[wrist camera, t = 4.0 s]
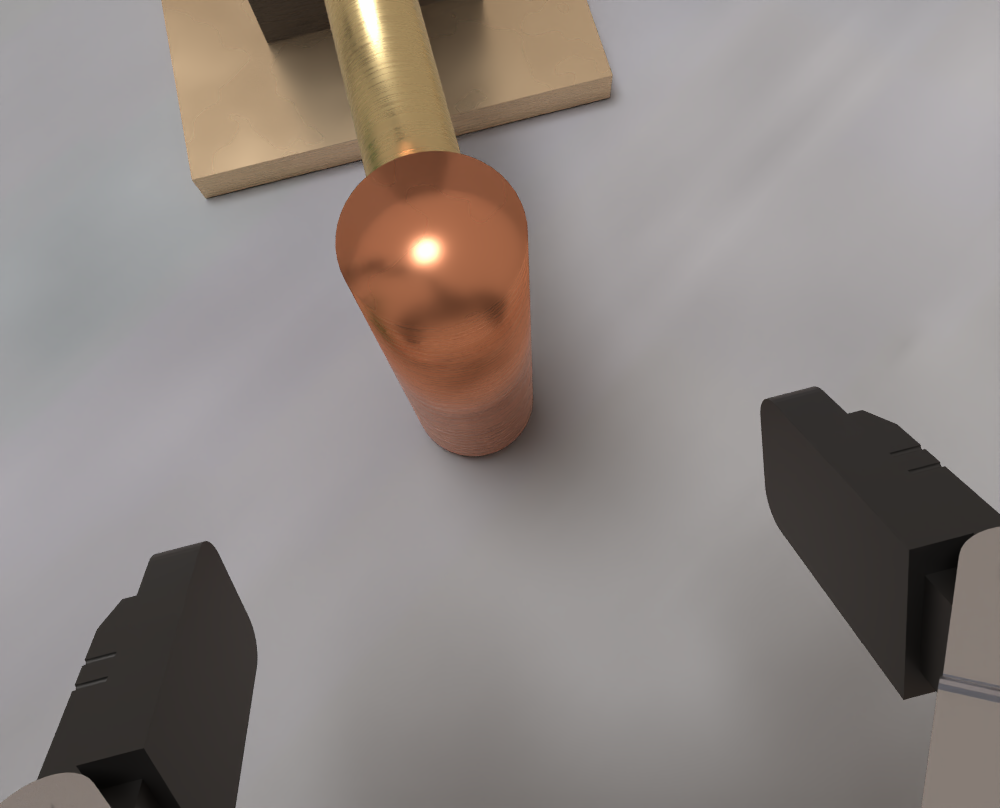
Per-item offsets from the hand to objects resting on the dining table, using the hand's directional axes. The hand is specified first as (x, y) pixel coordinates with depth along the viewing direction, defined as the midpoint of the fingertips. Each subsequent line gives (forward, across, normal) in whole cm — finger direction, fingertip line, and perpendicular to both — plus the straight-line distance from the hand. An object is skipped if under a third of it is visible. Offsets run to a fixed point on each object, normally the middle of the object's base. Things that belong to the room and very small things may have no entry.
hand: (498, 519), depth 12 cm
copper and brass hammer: (+16, 0, -3) cm, 16 cm away
